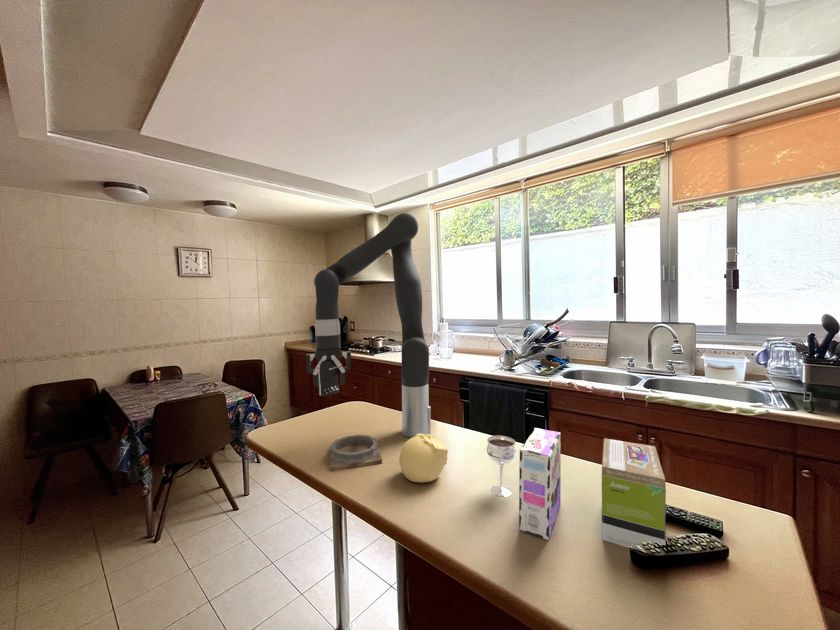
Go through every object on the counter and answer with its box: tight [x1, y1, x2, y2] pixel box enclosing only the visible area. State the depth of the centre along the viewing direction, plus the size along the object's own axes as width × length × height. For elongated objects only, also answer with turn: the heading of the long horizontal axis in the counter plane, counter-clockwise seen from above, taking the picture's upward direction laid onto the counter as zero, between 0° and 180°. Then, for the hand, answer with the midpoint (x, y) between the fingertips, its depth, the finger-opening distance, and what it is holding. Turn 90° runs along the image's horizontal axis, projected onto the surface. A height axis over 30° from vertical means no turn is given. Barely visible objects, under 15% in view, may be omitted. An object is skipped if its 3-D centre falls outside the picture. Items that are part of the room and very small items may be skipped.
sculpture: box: [398, 433, 449, 483], centre depth 85 cm, size 11×12×11 cm
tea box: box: [601, 437, 667, 549], centre depth 65 cm, size 15×10×15 cm, turn 150°
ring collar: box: [329, 434, 383, 471], centre depth 97 cm, size 14×14×4 cm
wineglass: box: [486, 435, 517, 497], centre depth 78 cm, size 7×7×12 cm
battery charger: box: [317, 360, 341, 397], centre depth 104 cm, size 7×4×11 cm, turn 147°
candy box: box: [518, 427, 562, 541], centre depth 69 cm, size 14×6×16 cm, turn 148°
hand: (329, 385), depth 104 cm, fingers closed on battery charger, 7 cm apart
